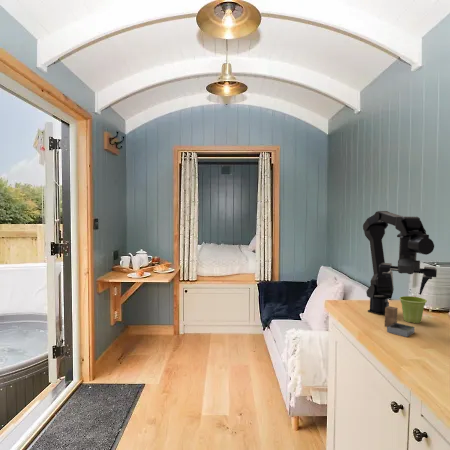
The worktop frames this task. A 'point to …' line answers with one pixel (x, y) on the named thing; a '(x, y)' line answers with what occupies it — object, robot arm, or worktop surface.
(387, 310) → the brown wooden block
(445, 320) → the worktop surface
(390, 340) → the worktop surface
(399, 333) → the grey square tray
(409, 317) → the plant pot
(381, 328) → the worktop surface
